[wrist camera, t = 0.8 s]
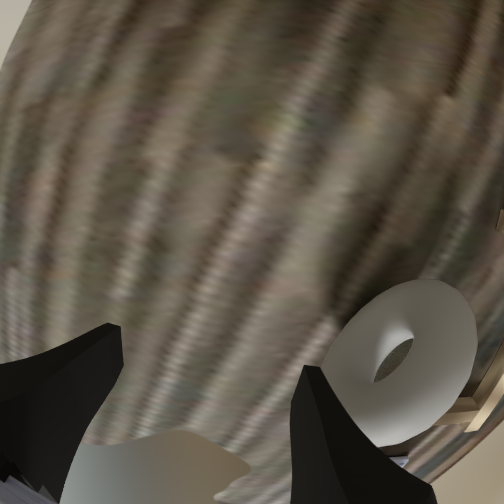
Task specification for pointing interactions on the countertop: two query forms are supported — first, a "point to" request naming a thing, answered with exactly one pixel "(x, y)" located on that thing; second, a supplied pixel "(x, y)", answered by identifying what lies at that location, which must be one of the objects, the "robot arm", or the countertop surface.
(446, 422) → the drawer pull handle
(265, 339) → the countertop surface
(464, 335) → the white rubber ring
